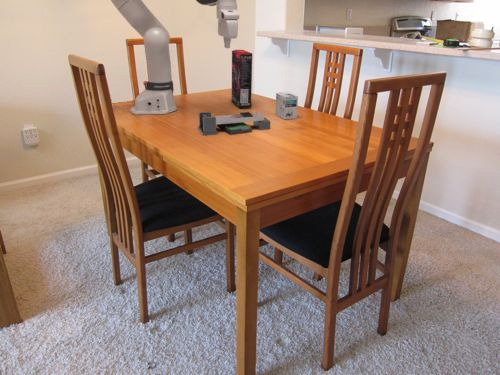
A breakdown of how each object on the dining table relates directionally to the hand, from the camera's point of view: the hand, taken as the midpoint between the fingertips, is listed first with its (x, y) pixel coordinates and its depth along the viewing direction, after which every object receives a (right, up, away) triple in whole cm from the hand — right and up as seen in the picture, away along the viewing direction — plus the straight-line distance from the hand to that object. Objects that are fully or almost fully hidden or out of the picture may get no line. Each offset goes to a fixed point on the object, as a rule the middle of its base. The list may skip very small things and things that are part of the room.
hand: (227, 48), depth 183 cm
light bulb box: (+27, -28, +15) cm, 42 cm away
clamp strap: (+3, -33, -7) cm, 34 cm away
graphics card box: (+6, -18, +36) cm, 40 cm away
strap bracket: (+3, -36, -5) cm, 37 cm away
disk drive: (+3, -37, -5) cm, 38 cm away
